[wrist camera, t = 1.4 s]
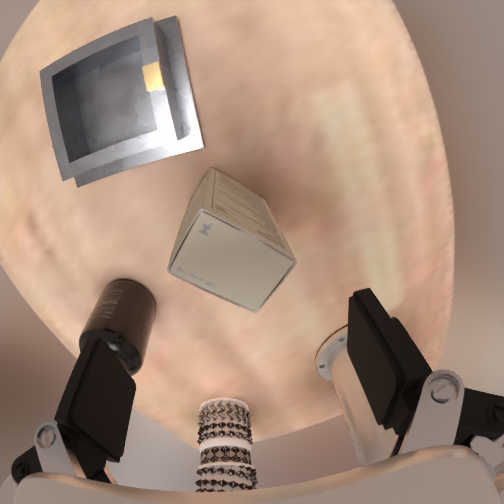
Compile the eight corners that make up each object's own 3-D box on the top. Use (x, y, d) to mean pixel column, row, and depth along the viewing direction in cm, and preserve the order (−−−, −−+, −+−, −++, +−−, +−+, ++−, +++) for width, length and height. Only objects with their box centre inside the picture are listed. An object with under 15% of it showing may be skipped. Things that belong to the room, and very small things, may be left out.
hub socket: (177, 19, 17) (165, -4, 12) (204, 146, 23) (197, 154, 18) (56, 70, 17) (24, 65, 12) (82, 184, 23) (53, 202, 18)
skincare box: (187, 204, 26) (159, 272, 15) (211, 164, 24) (197, 204, 13) (244, 236, 28) (255, 317, 17) (269, 198, 26) (300, 262, 15)
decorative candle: (185, 407, 41) (180, 543, 19) (226, 389, 39) (234, 545, 17) (221, 425, 44) (227, 545, 22) (261, 409, 42) (279, 542, 20)
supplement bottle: (103, 315, 31) (70, 389, 20) (105, 270, 28) (60, 346, 17) (153, 330, 32) (134, 411, 22) (161, 287, 30) (136, 372, 19)
